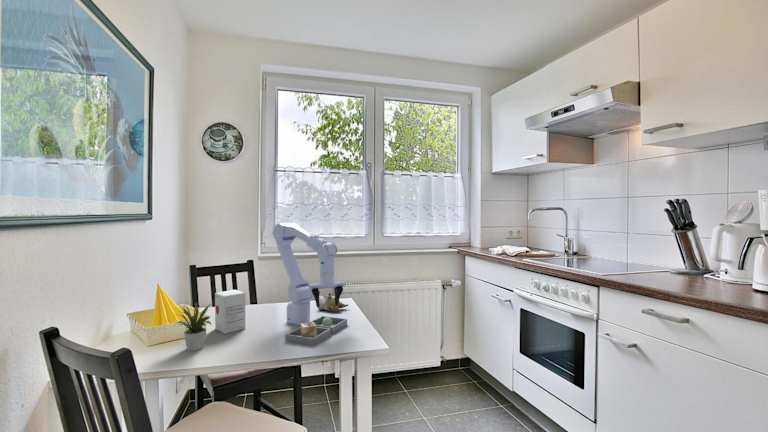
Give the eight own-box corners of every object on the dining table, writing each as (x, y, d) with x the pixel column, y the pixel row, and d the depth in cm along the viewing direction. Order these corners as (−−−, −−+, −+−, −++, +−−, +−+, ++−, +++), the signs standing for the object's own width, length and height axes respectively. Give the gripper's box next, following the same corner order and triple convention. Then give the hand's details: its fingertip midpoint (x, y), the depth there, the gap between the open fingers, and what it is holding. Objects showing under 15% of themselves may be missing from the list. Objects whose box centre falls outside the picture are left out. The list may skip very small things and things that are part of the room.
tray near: (285, 342, 136) (285, 334, 135) (304, 332, 147) (304, 325, 147) (313, 347, 131) (313, 338, 131) (330, 336, 142) (330, 328, 142)
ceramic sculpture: (321, 289, 185) (349, 293, 181) (320, 306, 186) (348, 310, 182) (311, 294, 175) (341, 298, 171) (310, 312, 175) (340, 316, 171)
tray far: (306, 331, 148) (306, 323, 148) (322, 322, 159) (322, 315, 159) (332, 335, 144) (332, 327, 144) (347, 326, 155) (347, 319, 155)
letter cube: (303, 341, 136) (303, 327, 135) (300, 336, 140) (300, 323, 140) (316, 339, 138) (316, 325, 137) (313, 335, 142) (313, 321, 142)
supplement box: (214, 329, 151) (214, 292, 151) (235, 324, 157) (235, 289, 157) (224, 334, 145) (223, 296, 144) (246, 328, 151) (245, 292, 151)
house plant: (164, 360, 120) (164, 309, 120) (170, 345, 133) (169, 300, 132) (213, 353, 126) (213, 305, 125) (214, 339, 138) (213, 296, 138)
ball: (320, 328, 150) (320, 318, 150) (325, 325, 154) (325, 315, 154) (328, 329, 149) (328, 319, 149) (333, 326, 152) (333, 316, 152)
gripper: (311, 275, 144) (311, 310, 145) (347, 273, 150) (347, 306, 150) (307, 272, 151) (307, 305, 151) (342, 270, 157) (342, 302, 157)
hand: (327, 305), depth 151 cm, fingers open, 7 cm apart
